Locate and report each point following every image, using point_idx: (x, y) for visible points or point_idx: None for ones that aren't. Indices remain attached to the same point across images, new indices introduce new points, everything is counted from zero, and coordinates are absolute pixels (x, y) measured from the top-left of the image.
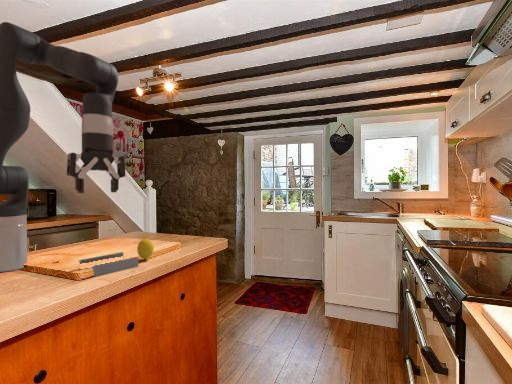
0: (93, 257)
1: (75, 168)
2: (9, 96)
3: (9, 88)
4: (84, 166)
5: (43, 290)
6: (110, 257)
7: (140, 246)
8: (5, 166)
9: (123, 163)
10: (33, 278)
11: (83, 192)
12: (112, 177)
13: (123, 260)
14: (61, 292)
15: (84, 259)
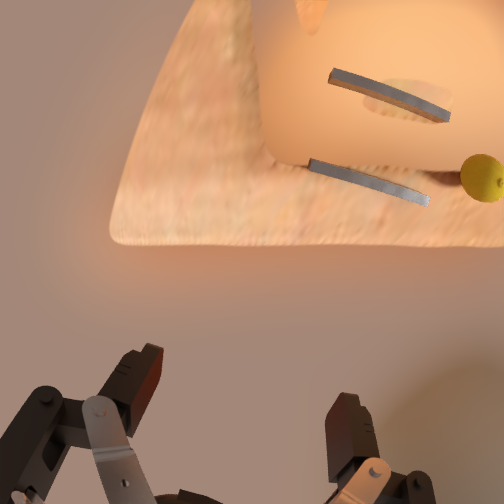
0: (373, 81)
1: (59, 468)
2: None
3: None
4: (123, 496)
5: (191, 154)
6: (411, 107)
7: (473, 179)
8: None
9: None
10: (225, 48)
11: (158, 378)
12: (351, 476)
13: (389, 192)
14: (203, 200)
15: (345, 76)
